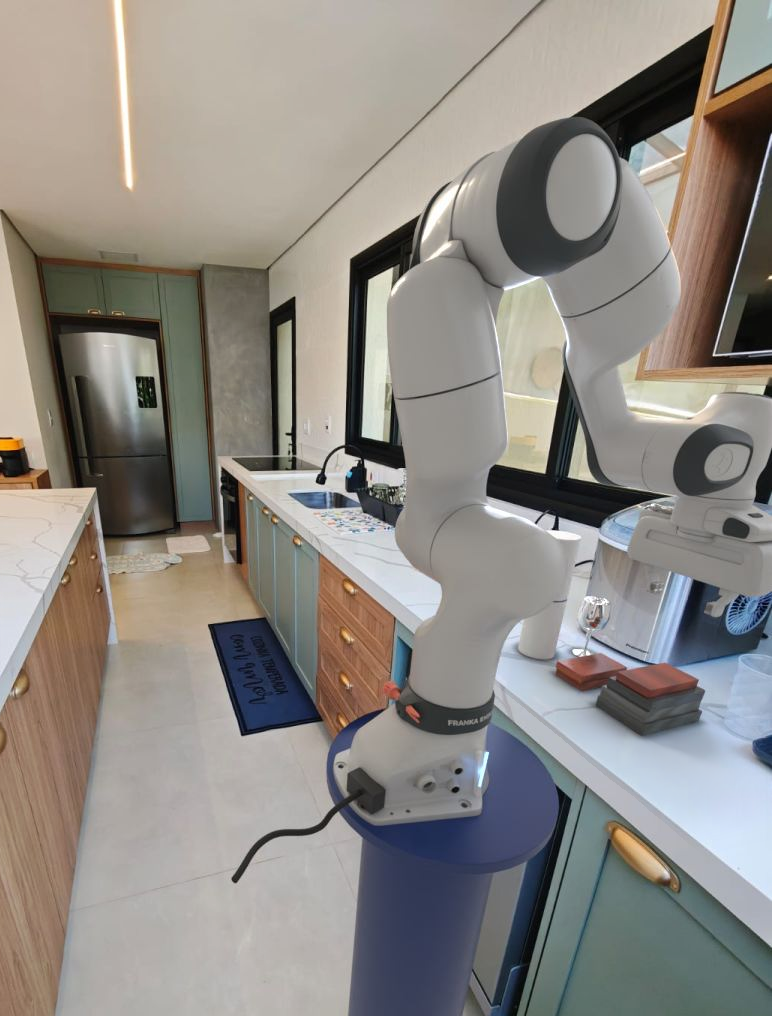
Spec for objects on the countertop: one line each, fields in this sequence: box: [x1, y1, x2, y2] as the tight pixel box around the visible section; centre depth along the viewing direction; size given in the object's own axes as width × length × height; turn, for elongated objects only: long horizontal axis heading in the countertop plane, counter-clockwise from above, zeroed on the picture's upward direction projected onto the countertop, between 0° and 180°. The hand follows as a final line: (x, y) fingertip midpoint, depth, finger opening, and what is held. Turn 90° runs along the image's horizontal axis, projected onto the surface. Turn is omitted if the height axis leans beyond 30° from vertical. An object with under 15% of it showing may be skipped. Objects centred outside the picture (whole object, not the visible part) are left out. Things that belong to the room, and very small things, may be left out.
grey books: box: [595, 676, 706, 737], centre depth 84 cm, size 13×9×6 cm
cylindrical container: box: [517, 529, 582, 660], centre depth 101 cm, size 7×7×25 cm
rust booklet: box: [616, 662, 700, 698], centre depth 83 cm, size 11×6×2 cm, turn 110°
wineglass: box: [572, 596, 612, 657], centre depth 103 cm, size 6×6×12 cm
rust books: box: [555, 652, 628, 692], centre depth 95 cm, size 11×6×3 cm, turn 110°
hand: (681, 603), depth 78 cm, fingers open, 8 cm apart
